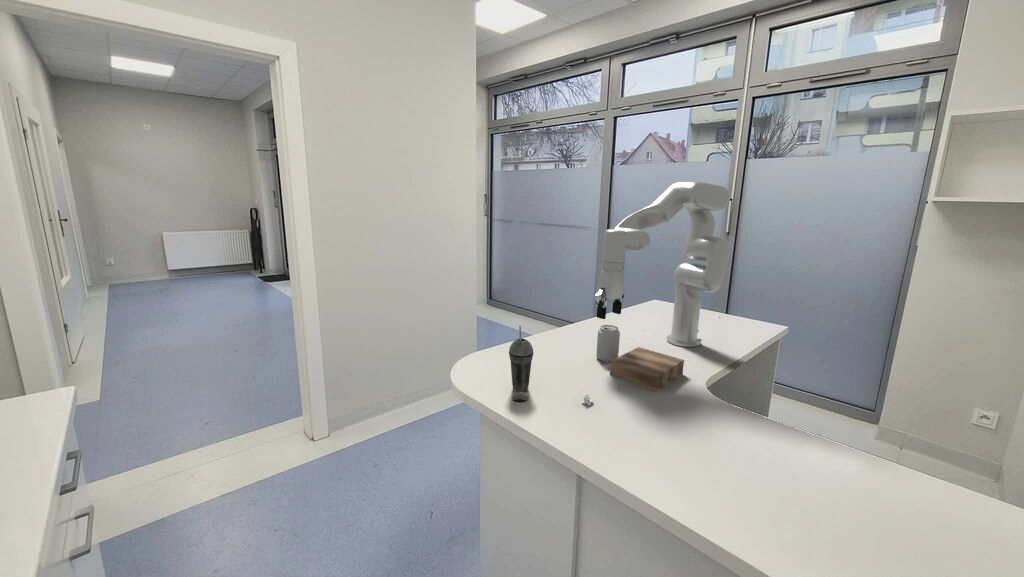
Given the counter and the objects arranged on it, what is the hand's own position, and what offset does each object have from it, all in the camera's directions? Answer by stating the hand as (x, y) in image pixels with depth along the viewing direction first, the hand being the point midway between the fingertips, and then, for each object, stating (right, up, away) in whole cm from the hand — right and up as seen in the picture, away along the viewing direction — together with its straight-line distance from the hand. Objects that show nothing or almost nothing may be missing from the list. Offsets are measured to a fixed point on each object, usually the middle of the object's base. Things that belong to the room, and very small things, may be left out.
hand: (608, 315), depth 145 cm
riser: (+10, -19, -9) cm, 23 cm away
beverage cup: (-31, -21, -20) cm, 42 cm away
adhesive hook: (-12, -23, -29) cm, 39 cm away
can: (0, -16, +4) cm, 16 cm away
